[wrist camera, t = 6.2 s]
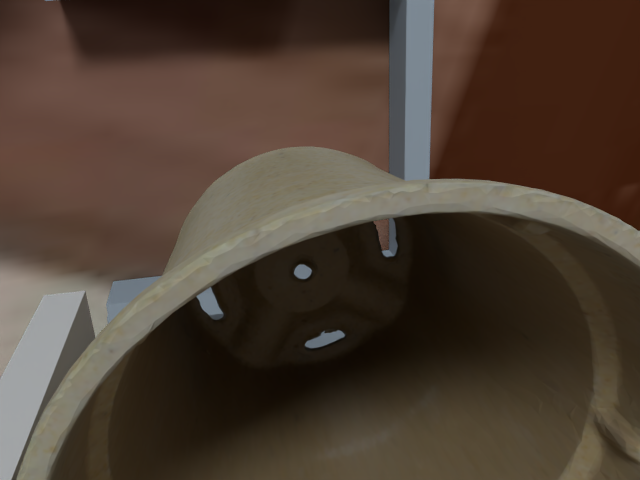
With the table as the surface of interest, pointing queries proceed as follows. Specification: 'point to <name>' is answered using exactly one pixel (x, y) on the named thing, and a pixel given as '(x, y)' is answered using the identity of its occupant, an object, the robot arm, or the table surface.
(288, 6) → the table surface
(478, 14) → the table surface
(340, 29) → the table surface
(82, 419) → the flower pot
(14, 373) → the robot arm
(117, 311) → the tray
